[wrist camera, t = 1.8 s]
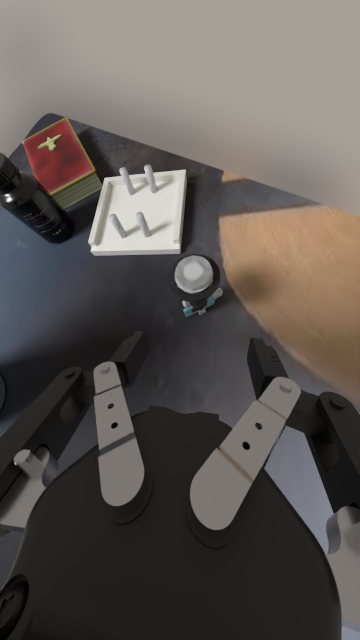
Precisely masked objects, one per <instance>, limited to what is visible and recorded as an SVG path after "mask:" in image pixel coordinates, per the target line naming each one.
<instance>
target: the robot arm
mask: <svg viewBox="0 0 360 640" xmlns="http://www.w3.org/2000/svg"><path fill="white" fill-rule="evenodd" d="M147 354H148V342H147V336H146V332H141V331H135V332H134V334H133V335H132V337H128V338H127V339H125V340H124V341H123V342H122V344H121V345H120V346H119V348H118V349H117V350H116V352H115V353H114V354H113V356H112V357H111V358H110V360H109V361H108V362H104V363H101V364H100V365H98V366H97V367H96V368H95V369H94V370H91V371H85V372H82V370H81V368H80V367H76V366H74V367H70V368H67V369H65V370H63V371H62V372H61V373H60V374H59V375H58V376H57V377H56V378H55V379H54V380H53V381H52V382H51V383H50V385H49V386H48V387H47V388H46V389H45V390H44V391H43V392H42V393H41V394H40V395H39V396H38V398H37V399H36V400H35V401H34V402H33V403H32V404H31V405H30V406H29V407H28V408H27V409H26V410H25V412H24V413H23V414H22V415H21V416H20V417H19V418H18V419H17V420H16V421H15V422H14V423H13V425H12V426H11V427H10V428H9V429H8V430H7V431H6V432H5V433H4V434H3V435H2V436H1V437H0V537H2V536H4V535H6V534H8V533H9V532H11V531H14V532H19V533H24V534H23V538H22V541H21V545H20V548H19V551H18V554H17V556H16V559H15V561H14V564H13V566H12V569H11V571H10V573H9V576H8V578H7V580H6V582H5V584H4V586H3V588H2V590H1V591H0V640H341V629H342V626H344V627H347V628H349V629H352V630H355V631H357V632H360V415H359V413H358V412H357V410H356V409H355V407H354V406H353V405H352V404H351V402H349V401H348V400H347V399H346V398H344V397H342V396H341V395H339V394H336V393H333V392H323V393H321V394H320V396H317V395H314V394H310V393H307V392H305V391H302V390H300V387H299V386H298V385H297V384H296V383H295V382H294V381H292V380H290V379H289V378H288V375H287V373H286V371H285V369H284V367H283V365H282V363H281V361H280V359H279V358H278V355H277V352H276V351H275V350H274V349H273V348H272V347H271V346H266V345H265V343H264V341H263V339H260V338H251V340H250V344H249V350H248V355H247V361H248V366H249V370H250V375H251V379H252V383H253V387H254V391H255V395H256V399H255V400H254V401H253V403H252V404H251V405H250V407H249V408H248V409H247V411H246V412H245V413H244V415H243V416H242V417H241V419H240V420H239V421H238V423H237V424H236V425H235V427H234V428H233V429H232V428H231V427H230V426H228V425H227V424H225V423H224V422H222V421H219V414H212V413H204V412H197V413H189V414H180V413H178V412H175V411H173V410H170V409H168V408H166V407H158V406H150V405H149V408H148V411H145V412H141V413H138V414H136V415H134V416H132V417H131V415H130V411H129V408H128V404H127V401H126V397H125V394H124V389H125V387H132V385H133V383H134V381H135V379H136V377H137V375H138V373H139V371H140V369H141V367H142V365H143V362H144V360H145V358H146V356H147ZM4 398H5V384H4V381H3V379H2V377H1V376H0V410H1V408H2V405H3V402H4ZM68 399H69V401H68V402H67V404H66V405H65V406H64V408H63V409H62V411H61V408H62V407H63V405H64V404H65V403H66V401H67V400H68ZM92 403H95V413H96V423H97V433H98V444H97V445H96V446H94V447H93V448H92V449H91V450H89V451H88V452H87V453H86V454H85V455H83V456H82V457H81V458H80V459H78V460H77V461H76V462H75V463H73V464H72V465H71V466H70V467H68V468H67V469H66V470H65V471H63V472H62V473H61V474H60V475H58V476H57V477H56V478H55V475H56V473H57V470H58V462H57V461H58V459H59V457H60V456H61V454H62V452H63V451H64V449H65V447H66V446H67V444H68V442H69V441H70V439H71V437H72V436H73V434H74V432H75V431H76V429H77V427H78V426H79V424H80V422H81V420H82V419H83V417H84V415H85V414H86V412H87V410H88V409H89V407H90V405H91V404H92ZM60 411H61V412H60ZM286 425H287V426H289V427H291V428H294V429H296V430H299V431H301V432H303V433H305V436H306V439H307V441H308V444H309V447H310V450H311V452H312V455H313V458H314V461H315V463H316V466H317V469H318V471H319V474H320V477H321V480H322V482H323V485H324V488H325V491H326V493H327V496H328V499H329V501H330V504H331V507H332V510H333V512H334V515H332V516H331V517H330V518H329V519H328V520H327V523H326V531H327V536H328V541H329V550H328V554H325V553H324V551H323V549H322V547H321V546H320V544H319V542H318V541H317V539H316V537H315V536H314V534H313V533H312V532H311V530H310V529H309V528H308V526H307V525H306V524H305V522H304V521H303V520H302V518H301V517H300V516H299V514H298V513H297V512H296V510H295V509H294V508H293V506H292V505H291V504H290V502H289V501H288V500H287V498H286V497H285V496H284V494H283V493H282V492H281V490H280V489H279V488H278V486H277V485H276V484H275V482H274V481H273V480H272V478H271V477H270V476H269V474H268V473H267V472H266V470H265V469H264V468H265V466H266V465H267V463H268V461H269V459H270V456H271V454H272V452H273V450H274V448H275V446H276V444H277V442H278V440H279V439H280V437H281V435H282V433H283V431H284V429H285V427H286Z"/></svg>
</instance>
